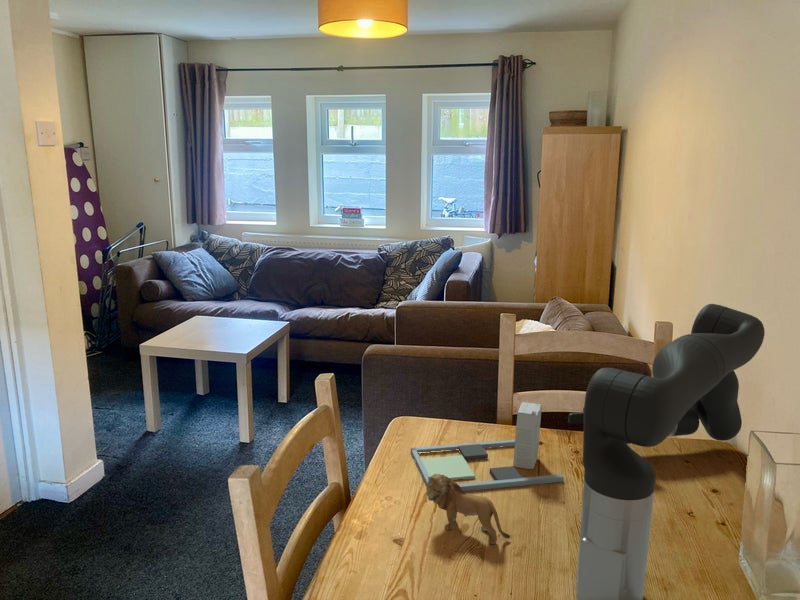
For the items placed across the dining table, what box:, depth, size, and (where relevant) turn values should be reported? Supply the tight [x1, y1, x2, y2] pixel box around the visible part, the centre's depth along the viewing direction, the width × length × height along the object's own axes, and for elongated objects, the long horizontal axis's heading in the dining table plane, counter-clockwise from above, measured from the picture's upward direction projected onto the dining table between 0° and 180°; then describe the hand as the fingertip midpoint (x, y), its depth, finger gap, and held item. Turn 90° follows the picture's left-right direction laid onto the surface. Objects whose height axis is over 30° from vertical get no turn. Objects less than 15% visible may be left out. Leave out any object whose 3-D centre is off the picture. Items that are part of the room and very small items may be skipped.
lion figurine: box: [425, 474, 511, 545], centre depth 106 cm, size 15×5×9 cm, turn 67°
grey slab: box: [458, 444, 489, 461], centre depth 134 cm, size 5×5×1 cm
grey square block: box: [489, 465, 523, 481], centre depth 124 cm, size 5×5×1 cm
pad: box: [421, 454, 476, 481], centre depth 128 cm, size 9×9×1 cm
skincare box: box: [512, 401, 543, 470], centre depth 130 cm, size 6×4×12 cm
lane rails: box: [410, 439, 564, 492], centre depth 129 cm, size 27×18×1 cm
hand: (578, 426), depth 131 cm, fingers open, 8 cm apart
